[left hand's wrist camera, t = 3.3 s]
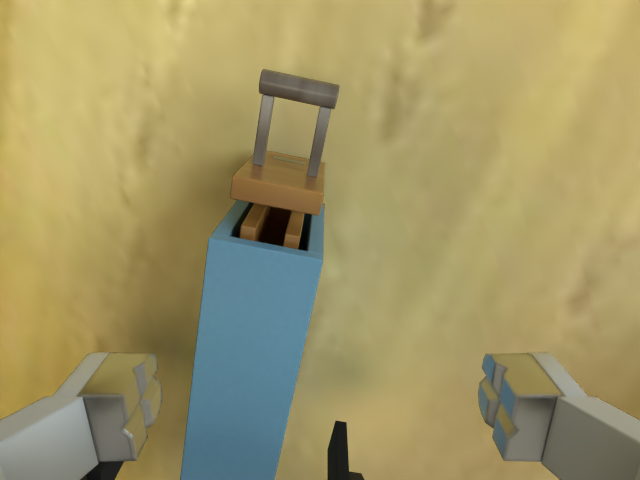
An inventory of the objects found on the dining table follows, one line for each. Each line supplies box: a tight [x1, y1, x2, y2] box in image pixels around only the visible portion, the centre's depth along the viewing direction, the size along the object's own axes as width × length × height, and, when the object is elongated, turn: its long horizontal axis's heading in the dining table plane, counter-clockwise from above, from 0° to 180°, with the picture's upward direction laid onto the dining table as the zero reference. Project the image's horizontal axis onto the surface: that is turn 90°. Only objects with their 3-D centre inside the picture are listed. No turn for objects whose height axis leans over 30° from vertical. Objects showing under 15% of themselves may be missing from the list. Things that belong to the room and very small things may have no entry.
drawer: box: [230, 69, 339, 249], centre depth 27 cm, size 23×4×8 cm, turn 169°
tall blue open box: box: [180, 200, 325, 480], centre depth 29 cm, size 19×6×10 cm, turn 169°
